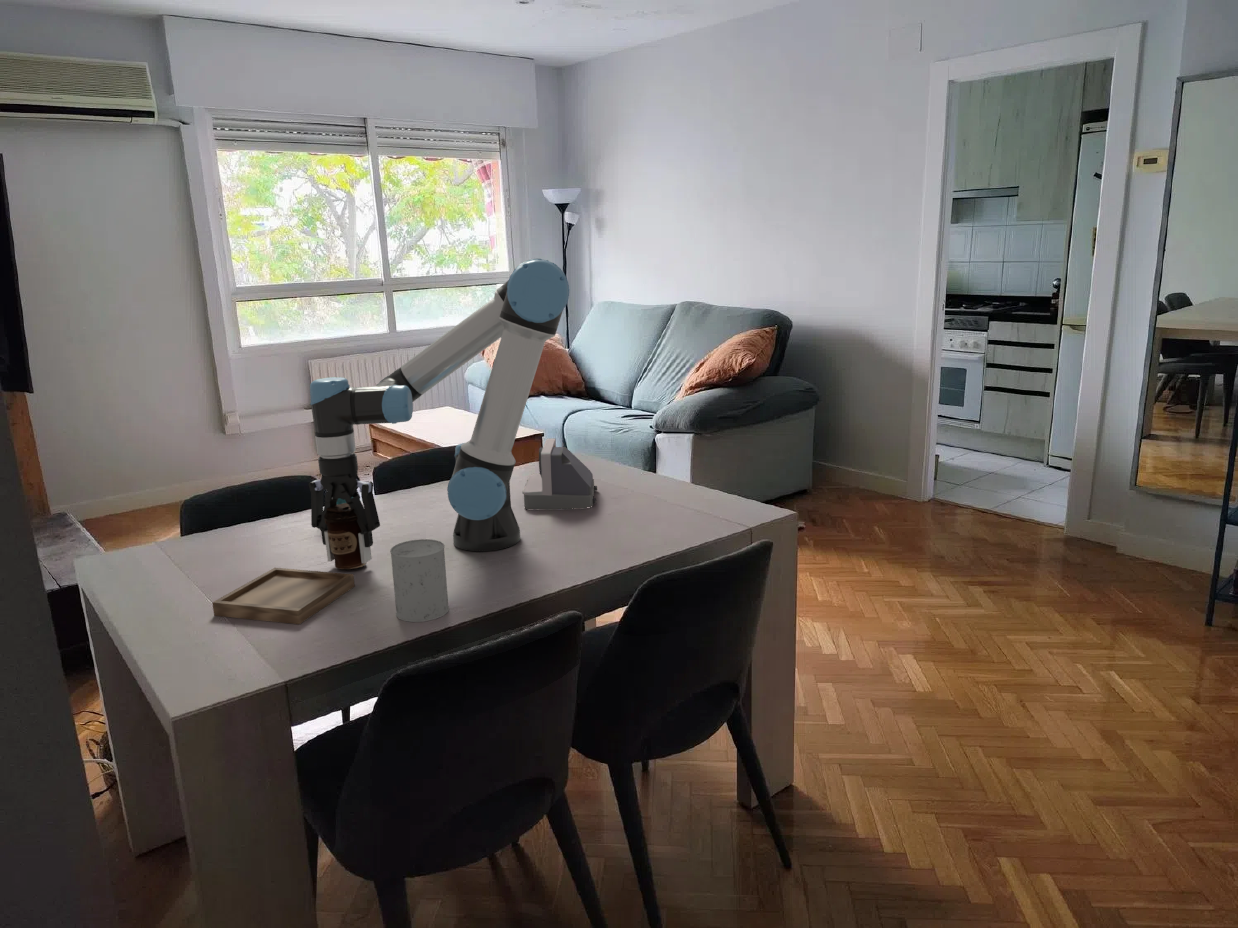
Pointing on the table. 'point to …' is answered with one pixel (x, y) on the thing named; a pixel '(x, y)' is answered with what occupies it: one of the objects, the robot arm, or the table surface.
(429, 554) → the white speckled cylinder
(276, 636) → the table surface
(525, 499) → the instant camera
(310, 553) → the table surface
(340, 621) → the table surface
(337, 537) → the coffee cup
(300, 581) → the tray
